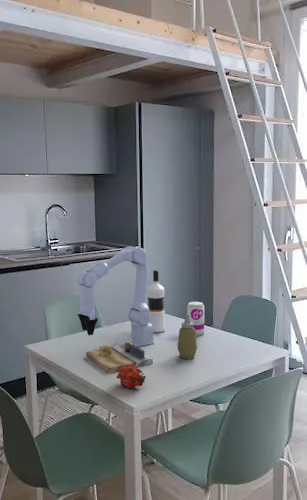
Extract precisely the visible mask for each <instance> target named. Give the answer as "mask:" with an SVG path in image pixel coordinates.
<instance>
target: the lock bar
mask: <svg viewBox="0 0 307 500" xmlns="http://www.w3.org/2000/svg"><path fill="white" fill-rule="evenodd" d="M124 345H125V351H129V352H131V353H133V354H134V355H136V356H138V357H139V358H141V359H144V358H145V355H144V354H145V350H143V349H142V348H140V347H139V346H138V347H136V346H134V345H133V343H132V342H131V340H128V341H127V340H126V342H125V343H124Z"/></svg>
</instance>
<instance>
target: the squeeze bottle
mask: <svg viewBox="0 0 307 500" xmlns="http://www.w3.org/2000/svg"><path fill="white" fill-rule="evenodd" d="M178 331H179V332H178V342H177V351H178V354H179V356H180V358H182V359H186V360H188V359H189V360H191V359H193V358H195V356H196V352H197V349H198V343H197V336H196V332H195V329H194V328H193V323H192V322H190V318H189V314H187V313H186V314H185V317H184V321H182V323H181V327H180V328H179V330H178Z"/></svg>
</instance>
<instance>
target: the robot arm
mask: <svg viewBox="0 0 307 500" xmlns="http://www.w3.org/2000/svg"><path fill="white" fill-rule="evenodd" d="M122 262H130V263H131V264H133V266H135V268H136V271H135V272H136V273H135V281H134V282H135V283H134V284H135V285H134V296H133V303H132V304H131V305H130V309H129V311H128V313H127V317H128V319H129V321H130V325H131V328H130V331H131V334H130V335H131V336H130V337H131V340H130V341H131V342H132V343H133V345H134V346H136V347H138V348H139V347H142V346H146V345H152V344H155V342H154V333H153V327H152V324H151V323H149V321H150V314H149V307H148V303H147V298H148V291H147V290H148V282H149V271H150V263H149V259H148V252H147V251H146V250H145V249H144V248H142V247H135V246H129V245H128V246H126V247H124V248H122V249H121V250H120V251H119V252H117V253H116V254H115V255H114V256H111V258H109V259H108V260H106V261H105V262H103V261H100V262H99V261H98V262H96V263H95V265H93V266H92V267H91V268H87V269H86V271H80V273H79V274H78V275H77V278H76V282H77V284H78V285H79V311H77V316H78V319H79V321H80V325H81V327H82V328H81V329H82V331H86V333H87V335H88V336H93V335H94V333H95V327H96V324H97V322H98V320H99V319H98V317H96V315H95V312H96V311H95V295H94V292H95V291H94V290H95V289H94V286H95V285H96V283H97V281H99V280H100V279H102V278H103V277H105V276H106V275H107V274H109V272H110V269H112V268H114V267H116V266H118V265H119V264H121V263H122Z"/></svg>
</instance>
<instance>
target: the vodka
mask: <svg viewBox="0 0 307 500" xmlns="http://www.w3.org/2000/svg"><path fill="white" fill-rule="evenodd" d="M152 272H153V273H152V274H153V275H152V278H153V283H152V284H151V285H150V286H148V287H147V306H148V307H149V314H150V321H149V323H151V324H152V327H153V334H156V333H157V334H158V333H163V332H164V331H166V328H167V327H166V322H165V292H166V291H165V287H164V286H163V285H161V284H160V282H159V270H157V269H156V270H154V269H153V271H152Z"/></svg>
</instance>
